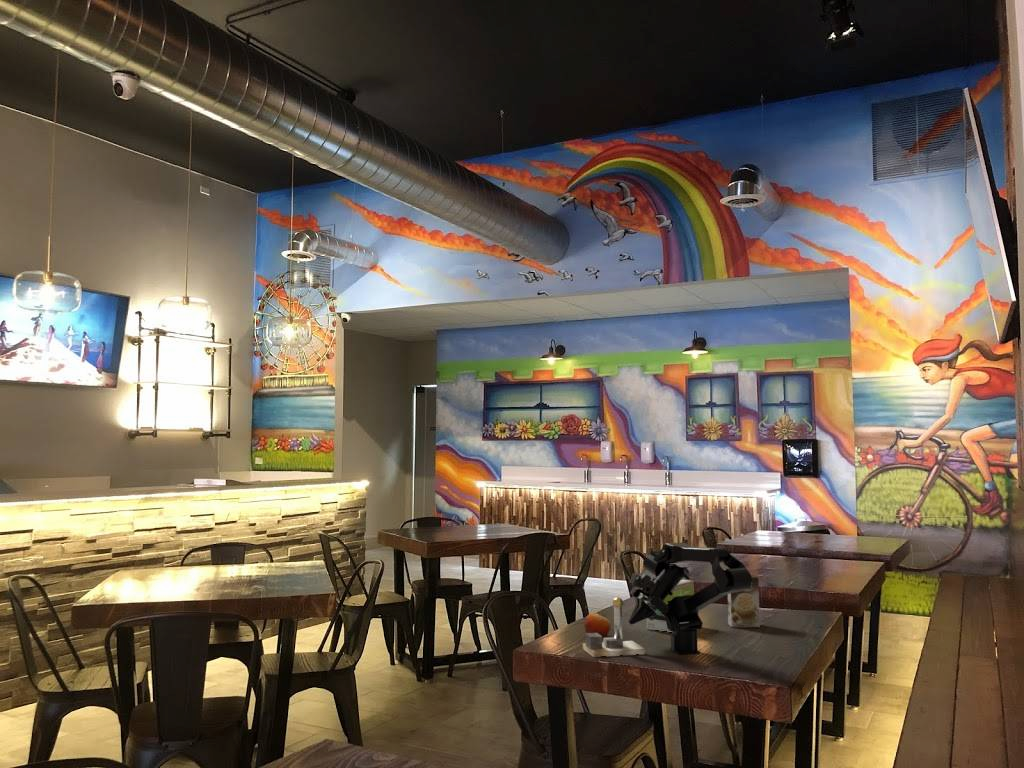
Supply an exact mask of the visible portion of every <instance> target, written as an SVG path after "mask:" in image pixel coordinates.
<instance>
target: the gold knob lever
mask: <svg viewBox="0 0 1024 768" xmlns="http://www.w3.org/2000/svg"><path fill="white" fill-rule="evenodd" d="M612 606H613V619H614V620H613V622H614V624H613V626H614V627H613V630H614V636H613V637H614V638H602V642H603V646H605V647H608V640H623V610H622V609H623V608H622V607H623V606H624V600H623V599H622V598H621V597H618V596H617V597H614V598H613V600H612Z"/></svg>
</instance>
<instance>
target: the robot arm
mask: <svg viewBox="0 0 1024 768" xmlns="http://www.w3.org/2000/svg"><path fill="white" fill-rule="evenodd" d="M689 562H701V563H702V562H704V563H709V564H710V565H711V572H712V576H713V577H714V580H713V582H711V583H710V584H708V585H707V586H705V587H703V588H701V589H700V590H698V591H697V592H694V594H693V595H685V596H676V597H674V598H673V599H672V600H671V601H667V602H668V604H666V603H665V602H664V601H663V600H664V599H665V598H666V597H667V596H668V595H670V596H671V595H672V594H673V593H672V592H671V591H672V590H673V589H674V588H675V587H676V585H677V584H678V583H679V582H680V581H681V580H683V578H684V580H690V570H689V569H688V568H687V566H683V567H682V566H680V565H678V564H679V563H689ZM721 563H723V564H724V566H726V567H727V568H723V567H722V566H721ZM642 566H643V568H644V570H645V571H646V572H649V573H650V574H651V575H652V576H654V577H651V576H650V575H647V574H646V573H643V574H642V575H639V574H637V573H634V572H632V574H631V577H630V579H629V581H628V583H629V584H630V585H633V586H634V587H632V588H631V590H630V591H629V594H631V596H632V597H634V600H635V605H634V606H635V607H634V608H633V611H632V613H631V615H630V617H629V619H628V623H629V625H634V624H637V623H639V622H641V621H643V620H647V618H648V617H651V616H653V615H657V614H656V613H655V612H656V610H657V609H658V610H659V611H660V612H661V615H662V616H664V617H665V619H666V624H667V628H668V629H669V630H670V631H672V633H670V647H669V649H670V651H672V650H673V651H672V652H674V653H676V654H677V655H689V654H690V655H691V654H700V653H701V651H700V650H699V649H698V630H702V627H703V621H702V619H701V617H700V616H699V615H700V614H699V612H700V611H701V610H703V609H704V608H706V607H708V606H709V605H711V604H713V603H715V602H717V601H718V600H720V599H721V598H723V597H725V596H728V594H730V593H735V592H740V591H744V590H747V589H749V588H750V587H751V582H752V577H751V575H752V574H751V572H750V571H749V570H748V569H747V567H746V566H745V564H744V563H743V562H742V561H740V559H737V558H736V557H734V556H733V555H732V554H731V553H730V551H729V550H728V549H727V548H725V547H698V546H691V544H689V543H685V542H681V541H680V542H669V543H667V542H666V543H664V544H663V545H662V548H661V549H660V550H659V551H658V550H657V549H654V550H650V554H648V555H647V556H646V557H645V559H644V560H643V565H642ZM684 622H689V623H684ZM680 623H682V624H680Z"/></svg>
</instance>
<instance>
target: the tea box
mask: <svg viewBox="0 0 1024 768" xmlns="http://www.w3.org/2000/svg"><path fill="white" fill-rule="evenodd" d="M694 584H695V583H694V580H690V579H689V580H687V579H682V580H681V581H680V582H679V583H678V584H677V585H676V587H675V588H674V589H673V590H672V591H671V592H672V593H673V594H672V595H671V596H670V595H668V596H667V597H666V598H665V599H664V600H663V601H664V602H665V603H666V604H668V602H667V601H671V600H672V599H673V598H674V597H676V596H685V595H693V594H695V585H694ZM655 613H656V614H657V615H653V616H651V617H648V618H646V629H647V630H650V631H655V630H659V631H658V632H662V631H667V632H666V633H669V632H672V631H670V630H669V629H668V628H667V624H666V619H665V617H664V616H662V615H661V612H660V611H659V610H658V609H657V610H656V612H655ZM684 623H689V622H684ZM680 624H682V623H680Z"/></svg>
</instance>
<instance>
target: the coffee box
mask: <svg viewBox="0 0 1024 768" xmlns="http://www.w3.org/2000/svg"><path fill="white" fill-rule="evenodd" d="M751 577H752V582H751V587H750V588H749V589H747V590H744V591H740V592H735V593H730V594H727V624H728V625H729V626H730V627H731V628H747V627H759V628H760V589H759V588H760V586H759V584H760V583H759V581H760V579H759V576H757V575H755V574H751Z"/></svg>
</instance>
